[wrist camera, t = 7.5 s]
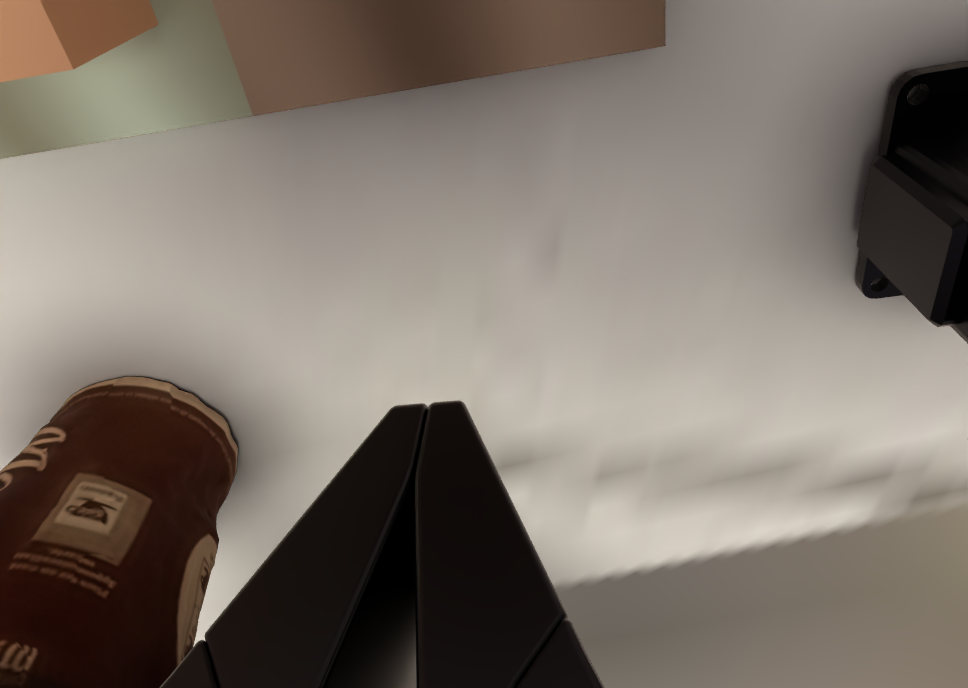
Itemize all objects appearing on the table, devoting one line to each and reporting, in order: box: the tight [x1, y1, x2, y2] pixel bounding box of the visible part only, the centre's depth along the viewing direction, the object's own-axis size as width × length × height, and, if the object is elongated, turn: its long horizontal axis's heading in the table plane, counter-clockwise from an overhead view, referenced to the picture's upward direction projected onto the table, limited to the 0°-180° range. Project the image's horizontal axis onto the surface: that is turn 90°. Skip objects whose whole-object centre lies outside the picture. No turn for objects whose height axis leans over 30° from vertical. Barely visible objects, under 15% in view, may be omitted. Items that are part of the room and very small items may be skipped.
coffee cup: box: [0, 377, 238, 688], centre depth 19 cm, size 9×8×13 cm
